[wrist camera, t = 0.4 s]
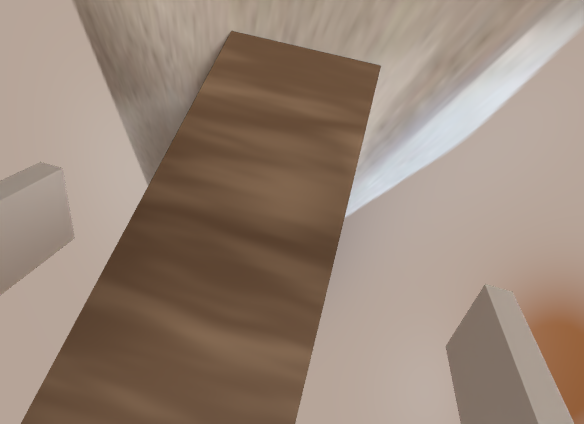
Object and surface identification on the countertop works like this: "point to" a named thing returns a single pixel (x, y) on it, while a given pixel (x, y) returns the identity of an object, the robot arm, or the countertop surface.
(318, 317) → the wooden block
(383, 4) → the countertop surface
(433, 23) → the countertop surface
